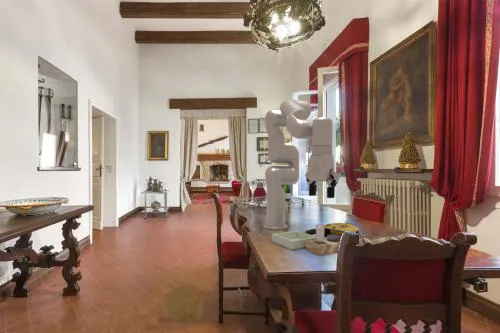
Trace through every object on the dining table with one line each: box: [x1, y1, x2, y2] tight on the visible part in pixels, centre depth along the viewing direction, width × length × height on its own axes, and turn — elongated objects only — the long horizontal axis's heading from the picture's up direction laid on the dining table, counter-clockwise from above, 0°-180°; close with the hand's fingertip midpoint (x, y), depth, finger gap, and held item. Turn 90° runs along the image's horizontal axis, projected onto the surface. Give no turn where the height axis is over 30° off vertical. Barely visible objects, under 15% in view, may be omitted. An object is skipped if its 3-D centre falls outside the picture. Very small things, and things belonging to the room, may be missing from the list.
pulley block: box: [304, 221, 368, 239], centre depth 146 cm, size 14×6×30 cm
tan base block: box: [305, 235, 342, 256], centre depth 120 cm, size 14×8×5 cm, turn 120°
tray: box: [271, 230, 316, 251], centre depth 129 cm, size 14×14×4 cm
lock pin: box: [315, 223, 325, 244], centre depth 118 cm, size 3×3×10 cm
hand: (321, 196), depth 118 cm, fingers open, 9 cm apart
